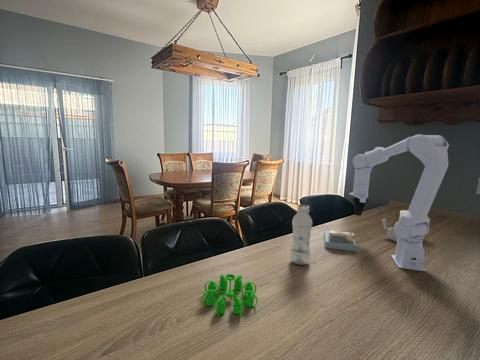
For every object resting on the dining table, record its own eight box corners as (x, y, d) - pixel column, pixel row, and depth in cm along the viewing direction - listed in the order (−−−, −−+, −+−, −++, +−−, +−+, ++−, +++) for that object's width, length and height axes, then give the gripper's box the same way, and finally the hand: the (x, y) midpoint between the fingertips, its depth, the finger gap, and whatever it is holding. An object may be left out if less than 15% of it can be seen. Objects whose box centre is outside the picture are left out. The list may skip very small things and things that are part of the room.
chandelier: (246, 328, 59) (247, 300, 58) (189, 310, 64) (189, 284, 63) (265, 292, 72) (266, 269, 71) (217, 280, 78) (217, 258, 77)
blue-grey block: (355, 251, 99) (356, 237, 99) (325, 247, 102) (326, 234, 101) (350, 238, 112) (352, 226, 111) (323, 235, 115) (324, 223, 114)
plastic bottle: (310, 268, 86) (314, 209, 82) (289, 266, 87) (293, 208, 84) (309, 259, 92) (313, 204, 88) (289, 257, 93) (293, 203, 90)
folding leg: (352, 240, 103) (353, 232, 103) (353, 242, 101) (354, 234, 100) (328, 237, 105) (329, 229, 105) (329, 239, 103) (329, 232, 102)
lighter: (397, 240, 111) (400, 222, 109) (395, 241, 110) (398, 223, 109) (381, 235, 117) (383, 218, 115) (379, 235, 116) (381, 218, 115)
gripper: (348, 180, 116) (345, 209, 118) (353, 185, 102) (350, 219, 105) (365, 181, 114) (362, 211, 117) (373, 187, 100) (369, 221, 103)
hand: (357, 215), depth 110 cm, fingers closed
